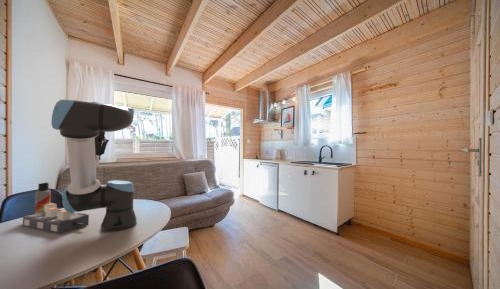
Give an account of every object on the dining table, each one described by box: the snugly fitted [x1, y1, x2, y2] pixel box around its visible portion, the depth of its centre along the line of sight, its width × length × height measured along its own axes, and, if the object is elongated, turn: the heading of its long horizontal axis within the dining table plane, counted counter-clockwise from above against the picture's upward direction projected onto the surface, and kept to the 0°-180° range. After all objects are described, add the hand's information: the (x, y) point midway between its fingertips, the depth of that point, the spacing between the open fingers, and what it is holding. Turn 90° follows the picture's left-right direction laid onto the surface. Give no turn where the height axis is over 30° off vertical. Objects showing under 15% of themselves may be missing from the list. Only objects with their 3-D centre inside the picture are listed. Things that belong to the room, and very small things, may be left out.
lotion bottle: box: [34, 182, 52, 214], centre depth 102 cm, size 6×6×20 cm
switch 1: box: [57, 209, 71, 221], centre depth 87 cm, size 4×3×4 cm
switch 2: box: [46, 207, 60, 218], centre depth 90 cm, size 4×3×4 cm
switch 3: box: [44, 202, 58, 212], centre depth 97 cm, size 4×3×4 cm
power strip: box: [22, 209, 90, 235], centre depth 91 cm, size 33×12×6 cm, turn 75°
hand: (96, 165), depth 109 cm, fingers closed
